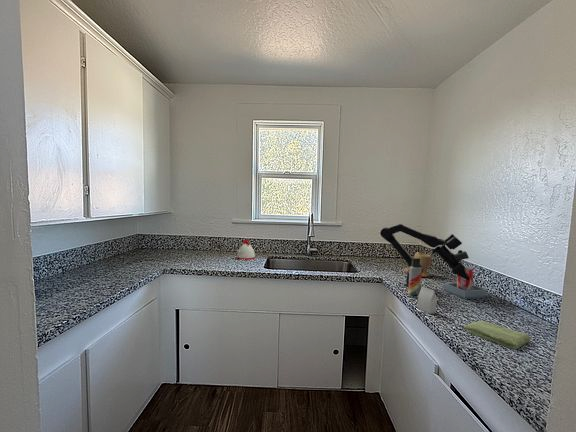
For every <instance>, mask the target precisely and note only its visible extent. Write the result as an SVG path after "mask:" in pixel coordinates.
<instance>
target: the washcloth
mask: <svg viewBox="0 0 576 432" xmlns="http://www.w3.org/2000/svg"><path fill="white" fill-rule="evenodd" d="M463 328H464V329H465V330H466V333H468V334H470V335H473V336H475V337H478V338H481V339H484V340H487V341H490V342H492V343H495V344H498V345H500V346H504V347H506V348H508V349H511V350H518V349H519V348H520V347H523V345H526V344H527V343H528V344H529V343H530V342H531V338H530V336H529V334H527V333H525V332H522V331H517V330H513V329H511V328H508V327H505V326H500V325H497V324H495V323H491V322H488V321H484V320H478V321H473V322H470V323H469V324H464V325H463Z"/></svg>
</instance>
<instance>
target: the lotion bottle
mask: <svg viewBox="0 0 576 432" xmlns="http://www.w3.org/2000/svg"><path fill="white" fill-rule="evenodd" d="M421 274H422V268H421V267H420V259H419V258H414V257H412V266H410V271H409V287H408V289H407V290H408V291H407V292H408V293H407V296H409V297H410V298H413V299H418V295H419V292H420V290H421V287H422V276H421Z"/></svg>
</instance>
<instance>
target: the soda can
mask: <svg viewBox="0 0 576 432" xmlns="http://www.w3.org/2000/svg"><path fill="white" fill-rule="evenodd" d="M465 272H466V274H467V275H468V277H469V278H470V280H467V279H465V278H463V277H460V276H458V275H457V277H456V278H457V280H456V283H457V288H459V289H462V290H465V291H469V290H472V285H473V284H474V283H473V281H474V271H473V268H472V267H470V266H465Z"/></svg>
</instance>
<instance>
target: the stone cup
mask: <svg viewBox="0 0 576 432" xmlns="http://www.w3.org/2000/svg"><path fill="white" fill-rule="evenodd" d="M413 258H419V259H420V263H422V267H423V273H422V274H421V278H423V277H424V278H425V277H429V276H430V275H431V274H430V273H429V272H428V268H429V267H430V264H431V262H432V255H430V254H428V253H427V254H426V253H424V252H419V251H417V252H415V254H414V257H413ZM409 269H410V267H409V266H408V267H406V268H405V267H404V268H403V271H405V272H406V273H408V270H409Z"/></svg>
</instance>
